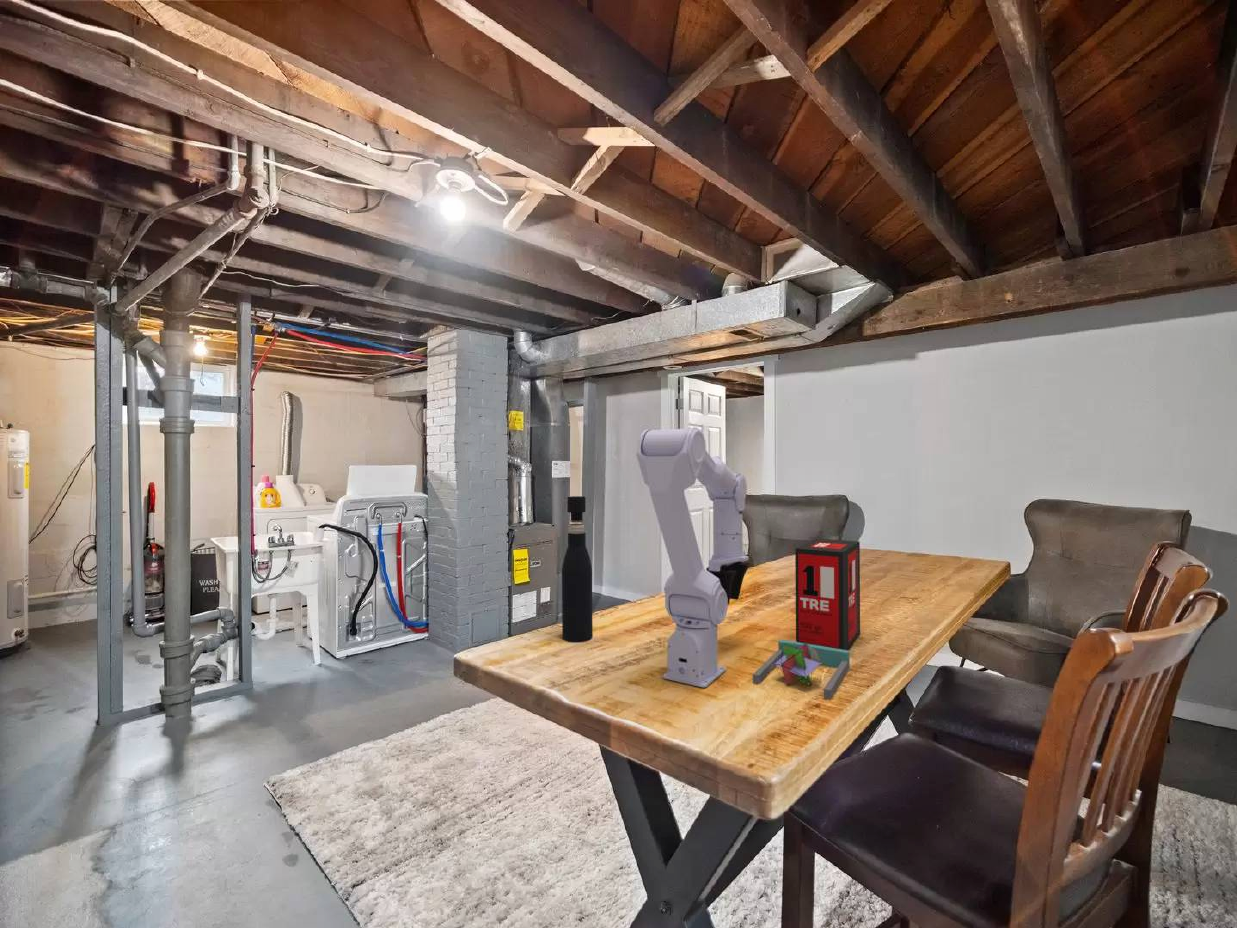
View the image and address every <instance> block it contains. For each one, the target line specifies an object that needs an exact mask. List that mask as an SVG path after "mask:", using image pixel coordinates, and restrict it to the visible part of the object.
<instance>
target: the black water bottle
mask: <svg viewBox="0 0 1237 928" xmlns="http://www.w3.org/2000/svg"><path fill="white" fill-rule="evenodd" d="M586 498H587V497H586V496H579V495H577V496H576V495H575V496H567V502H566V504H567V507H566V508H567V509H566V510H567V513H569V514H570V524H569V526H568V528H569V530H568V531H569V532H567V547H566V548H567V549H566V551H565V554H564V557H563V561H562V567H561V611H562V612H561V620H562V621H561V624H562V625H561V626H562V627H561V629H562V631H561V632H562V640H564V641H565V642H570V643H583V642H588V641H590V640H592V639H593V566H592V561H591V557H590V555H589V551H588V548H587V546H586V544H587V541H586V539H587V537H586V532H585V524H584V523H583V522H584V520H583V513H586V509H587V508H586Z"/></svg>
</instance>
